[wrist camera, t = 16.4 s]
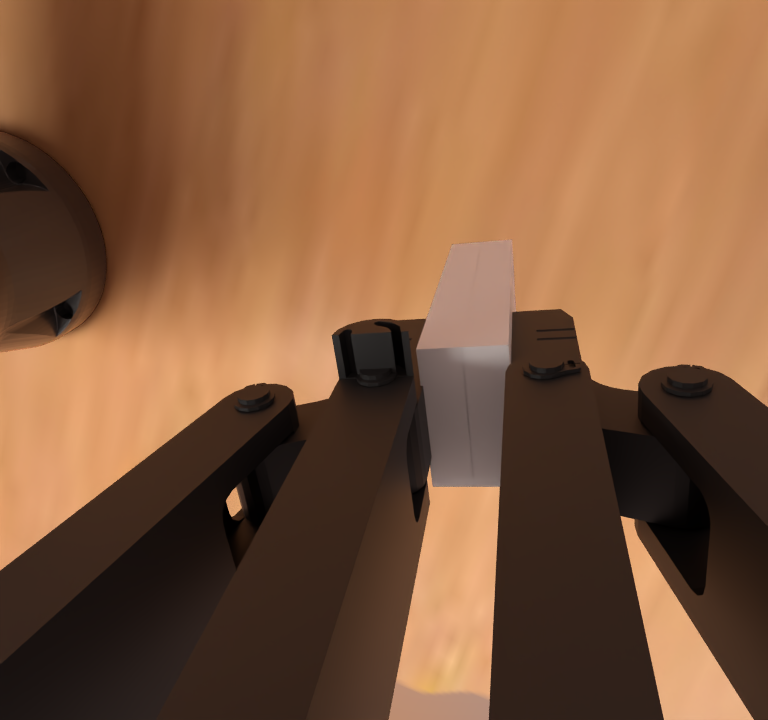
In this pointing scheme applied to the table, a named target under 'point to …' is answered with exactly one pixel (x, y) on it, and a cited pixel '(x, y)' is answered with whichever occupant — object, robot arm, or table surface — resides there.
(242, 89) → the table surface
